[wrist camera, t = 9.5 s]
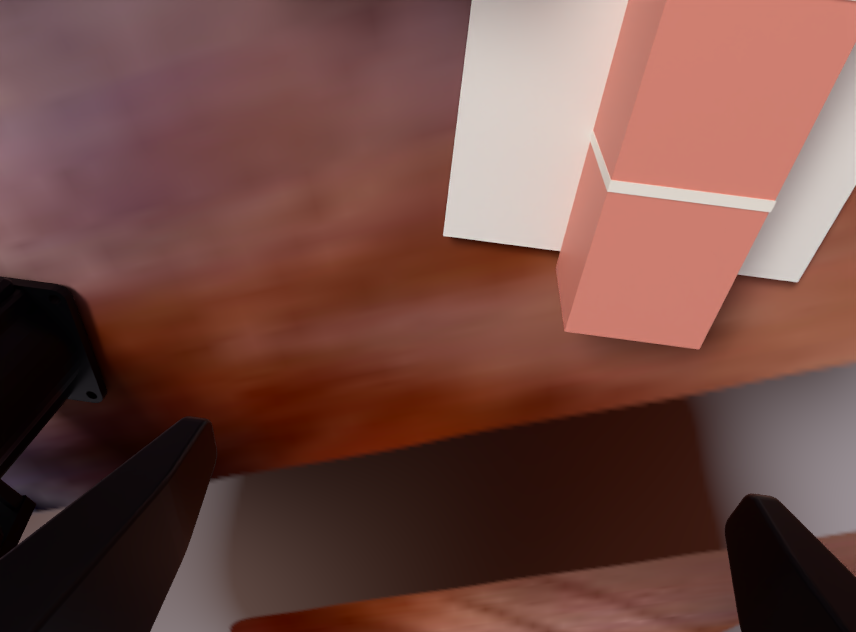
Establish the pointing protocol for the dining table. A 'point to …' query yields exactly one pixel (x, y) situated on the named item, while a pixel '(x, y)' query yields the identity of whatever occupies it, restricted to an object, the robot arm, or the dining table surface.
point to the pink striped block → (692, 157)
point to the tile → (572, 127)
